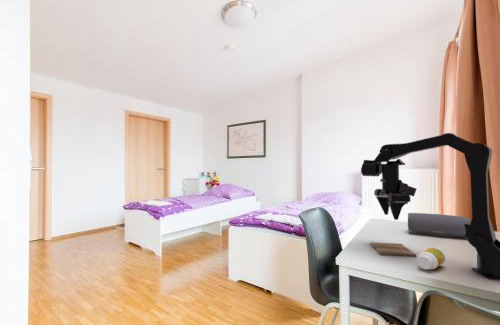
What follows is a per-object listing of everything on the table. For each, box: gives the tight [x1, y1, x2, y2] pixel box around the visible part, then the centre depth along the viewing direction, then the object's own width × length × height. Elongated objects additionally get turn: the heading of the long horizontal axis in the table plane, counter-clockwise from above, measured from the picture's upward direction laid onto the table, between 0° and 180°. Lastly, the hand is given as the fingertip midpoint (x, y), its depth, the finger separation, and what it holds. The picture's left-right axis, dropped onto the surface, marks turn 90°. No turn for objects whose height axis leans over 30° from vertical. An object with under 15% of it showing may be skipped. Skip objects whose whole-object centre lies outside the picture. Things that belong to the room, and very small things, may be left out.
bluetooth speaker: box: [407, 212, 471, 238], centre depth 113 cm, size 23×9×10 cm, turn 59°
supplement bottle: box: [416, 247, 446, 271], centre depth 79 cm, size 5×5×10 cm
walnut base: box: [369, 242, 417, 258], centre depth 94 cm, size 12×12×2 cm
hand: (390, 217), depth 95 cm, fingers open, 9 cm apart
